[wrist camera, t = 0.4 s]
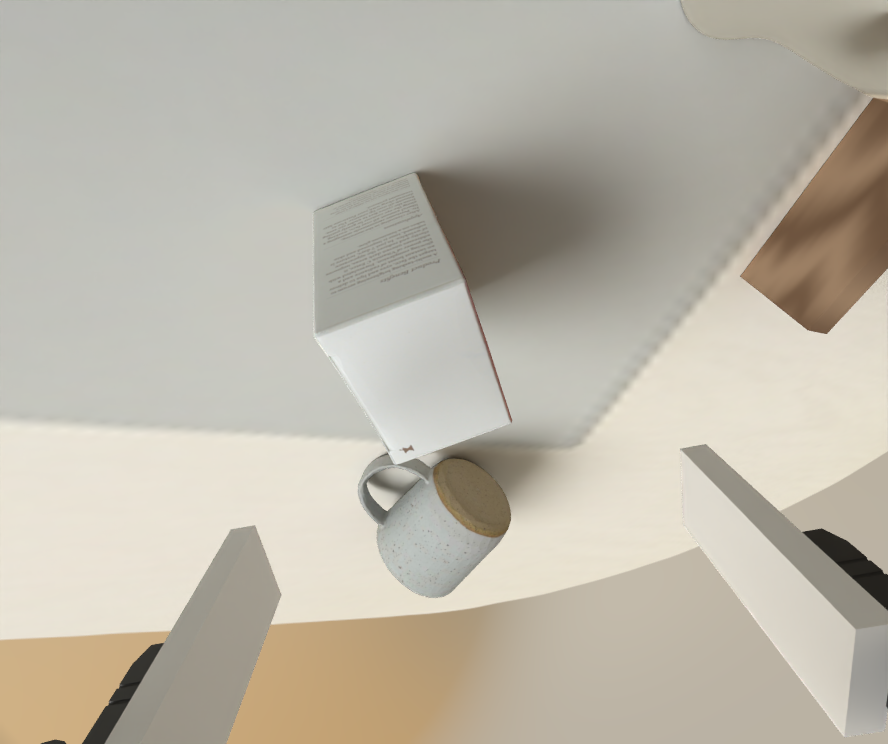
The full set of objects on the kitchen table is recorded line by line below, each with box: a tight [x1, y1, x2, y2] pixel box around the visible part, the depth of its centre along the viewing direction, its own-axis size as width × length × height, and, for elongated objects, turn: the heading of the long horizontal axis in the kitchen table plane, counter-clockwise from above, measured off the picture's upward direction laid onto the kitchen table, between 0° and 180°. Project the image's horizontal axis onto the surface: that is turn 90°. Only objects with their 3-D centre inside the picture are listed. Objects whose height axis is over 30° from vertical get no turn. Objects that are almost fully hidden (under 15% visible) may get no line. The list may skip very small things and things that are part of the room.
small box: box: [313, 173, 512, 465], centre depth 23 cm, size 8×6×10 cm
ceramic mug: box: [358, 454, 511, 598], centre depth 37 cm, size 11×8×8 cm
